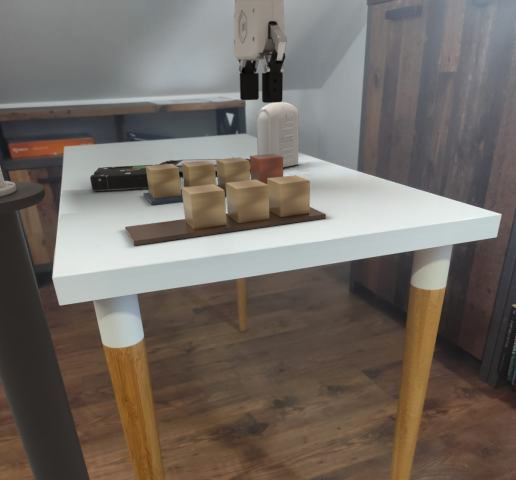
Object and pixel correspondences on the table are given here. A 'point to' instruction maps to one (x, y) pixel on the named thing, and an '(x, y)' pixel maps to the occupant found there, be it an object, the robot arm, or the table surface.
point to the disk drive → (120, 178)
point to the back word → (192, 177)
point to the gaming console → (179, 162)
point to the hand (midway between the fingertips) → (260, 101)
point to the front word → (233, 209)
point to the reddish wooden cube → (266, 167)
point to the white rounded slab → (278, 131)
